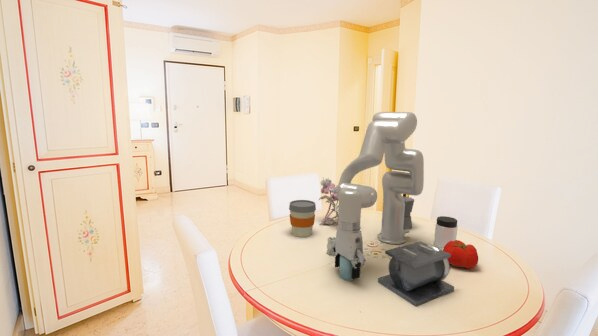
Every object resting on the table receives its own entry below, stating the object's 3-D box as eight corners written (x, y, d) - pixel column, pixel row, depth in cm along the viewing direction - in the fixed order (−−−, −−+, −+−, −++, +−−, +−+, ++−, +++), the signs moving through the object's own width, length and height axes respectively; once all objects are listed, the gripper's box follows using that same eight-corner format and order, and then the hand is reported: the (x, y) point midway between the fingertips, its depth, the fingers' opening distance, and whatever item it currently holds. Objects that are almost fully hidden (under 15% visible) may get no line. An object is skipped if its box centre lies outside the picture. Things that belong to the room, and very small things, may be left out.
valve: (325, 256, 129) (356, 259, 127) (326, 241, 128) (357, 243, 126) (327, 250, 136) (356, 252, 133) (327, 235, 134) (357, 237, 132)
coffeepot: (412, 232, 157) (415, 196, 154) (392, 230, 160) (394, 195, 157) (411, 222, 172) (414, 189, 169) (393, 221, 174) (395, 188, 171)
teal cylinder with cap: (348, 272, 117) (348, 249, 115) (357, 278, 112) (358, 254, 111) (336, 275, 114) (337, 252, 113) (345, 281, 110) (346, 257, 108)
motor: (414, 270, 119) (417, 236, 117) (453, 290, 105) (457, 253, 103) (377, 282, 110) (380, 245, 108) (415, 306, 96) (419, 265, 94)
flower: (335, 234, 149) (356, 184, 151) (302, 217, 165) (321, 173, 167) (357, 241, 163) (375, 196, 165) (324, 225, 179) (342, 184, 181)
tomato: (434, 260, 128) (435, 239, 126) (458, 255, 132) (460, 236, 130) (459, 275, 116) (462, 252, 114) (485, 269, 120) (488, 248, 119)
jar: (438, 239, 148) (440, 214, 147) (457, 244, 143) (459, 218, 141) (431, 245, 142) (434, 219, 140) (451, 250, 137) (454, 223, 135)
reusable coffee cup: (319, 232, 155) (320, 202, 153) (306, 240, 145) (307, 208, 142) (298, 227, 162) (298, 198, 159) (283, 235, 151) (283, 204, 149)
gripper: (375, 231, 105) (372, 280, 107) (342, 216, 119) (340, 260, 122) (356, 234, 101) (354, 286, 104) (325, 219, 116) (324, 264, 118)
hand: (346, 272), depth 113 cm, fingers open, 9 cm apart
